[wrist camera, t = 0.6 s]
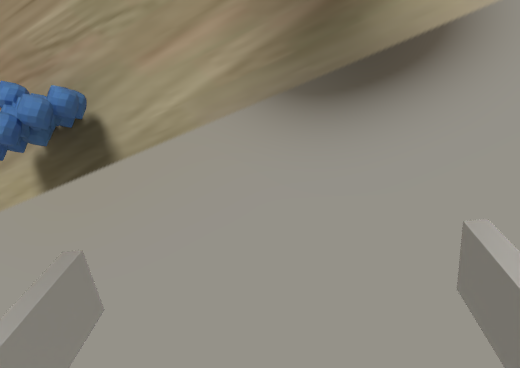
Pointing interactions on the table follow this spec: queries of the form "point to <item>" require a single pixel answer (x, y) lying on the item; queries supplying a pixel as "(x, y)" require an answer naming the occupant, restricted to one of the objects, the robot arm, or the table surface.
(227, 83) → the table surface
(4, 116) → the grapes
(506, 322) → the robot arm
